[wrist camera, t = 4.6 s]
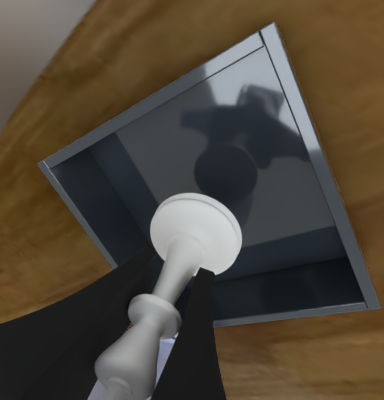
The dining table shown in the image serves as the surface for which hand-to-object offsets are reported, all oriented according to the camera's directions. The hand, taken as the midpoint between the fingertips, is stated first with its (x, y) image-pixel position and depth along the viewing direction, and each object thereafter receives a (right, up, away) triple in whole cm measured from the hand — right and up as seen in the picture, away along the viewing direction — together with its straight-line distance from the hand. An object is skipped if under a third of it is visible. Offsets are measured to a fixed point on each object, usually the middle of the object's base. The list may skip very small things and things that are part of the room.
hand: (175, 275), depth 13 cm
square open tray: (+2, +4, +6) cm, 8 cm away
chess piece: (+1, +2, +3) cm, 3 cm away
